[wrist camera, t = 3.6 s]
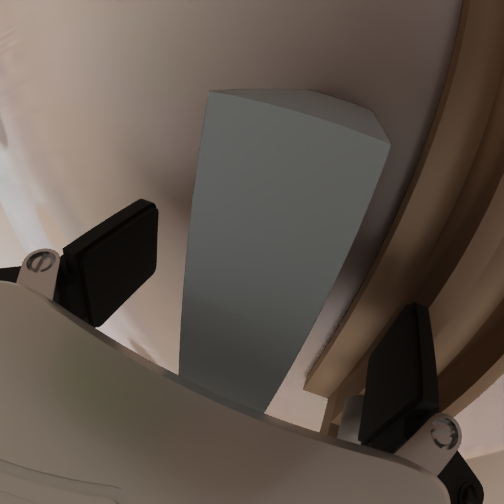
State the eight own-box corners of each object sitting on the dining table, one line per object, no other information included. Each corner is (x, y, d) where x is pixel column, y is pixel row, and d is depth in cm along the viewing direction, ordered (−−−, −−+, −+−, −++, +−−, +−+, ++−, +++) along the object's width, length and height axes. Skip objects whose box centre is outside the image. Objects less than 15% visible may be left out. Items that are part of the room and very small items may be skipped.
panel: (371, 110, 10) (390, 145, 3) (286, 332, 16) (232, 462, 10) (309, 89, 10) (209, 90, 4) (246, 316, 17) (177, 437, 10)
